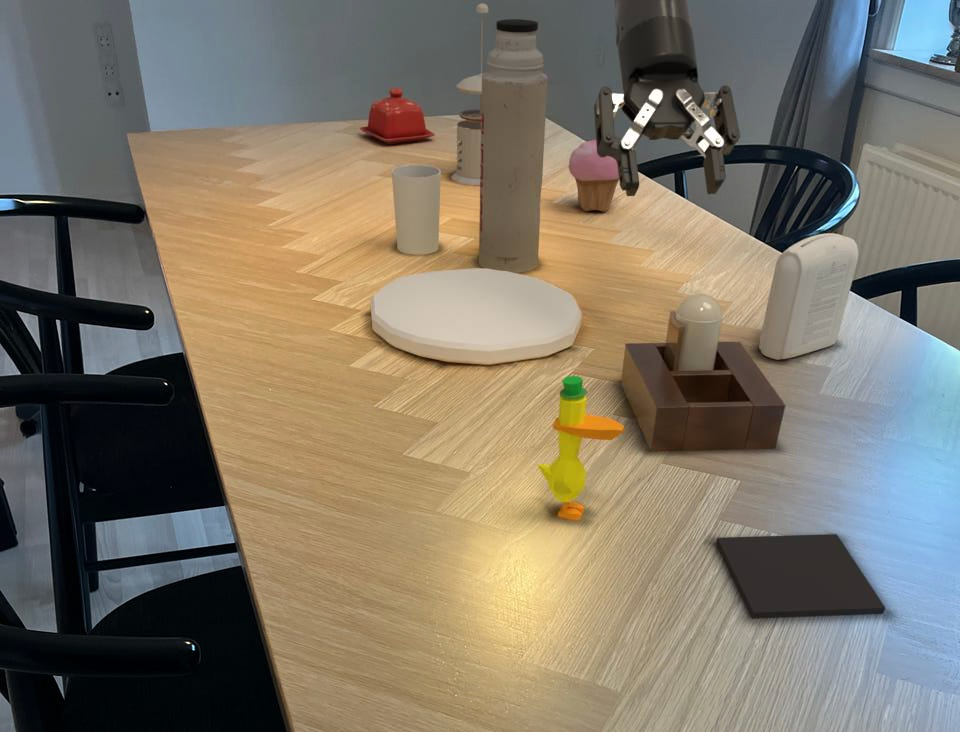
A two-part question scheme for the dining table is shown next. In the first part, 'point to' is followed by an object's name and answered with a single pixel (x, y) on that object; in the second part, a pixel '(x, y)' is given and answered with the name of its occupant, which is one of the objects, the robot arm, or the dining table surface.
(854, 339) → the dining table surface
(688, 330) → the dome-topped cream cylinder
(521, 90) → the thermos bottle
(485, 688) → the dining table surface
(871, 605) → the mat
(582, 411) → the toy figure
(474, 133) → the french press
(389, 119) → the butter dish
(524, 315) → the decorative plate
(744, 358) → the box
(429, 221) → the drinking glass
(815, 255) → the photo printer
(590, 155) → the cupcake
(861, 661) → the dining table surface
